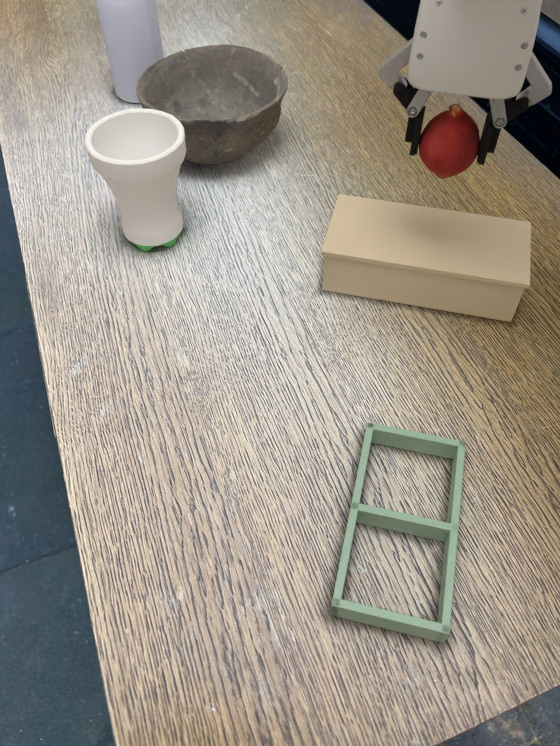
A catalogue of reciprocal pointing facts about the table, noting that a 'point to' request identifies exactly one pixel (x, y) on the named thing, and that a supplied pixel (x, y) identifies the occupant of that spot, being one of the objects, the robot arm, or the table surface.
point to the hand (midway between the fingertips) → (447, 150)
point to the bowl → (217, 98)
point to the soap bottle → (130, 41)
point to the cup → (141, 171)
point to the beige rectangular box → (427, 257)
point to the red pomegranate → (449, 142)
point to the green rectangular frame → (409, 526)
